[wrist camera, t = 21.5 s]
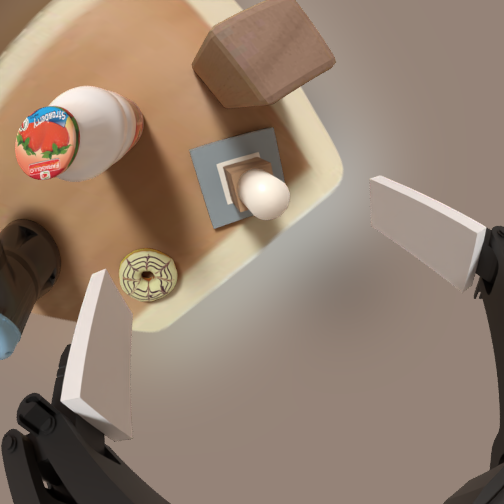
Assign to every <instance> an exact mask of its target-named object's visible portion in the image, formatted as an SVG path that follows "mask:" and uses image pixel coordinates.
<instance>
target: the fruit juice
mask: <svg viewBox="0 0 504 504" xmlns="http://www.w3.org/2000/svg"><path fill="white" fill-rule="evenodd" d="M143 125H144V121H143V115H142V112H141V110H140V108H139V107H138V106H137V105H136V104H135V103H134V102H133V101H132V100H130V99H128V98H126V97H123V96H121V95H119V94H117V93H115V92H112V91H108V90H104V89H102V88H99V87H94V86H81V87H76V88H73V89H70V90H68V91H66V92H64V93H62V94H61V95H59V96H58V97H57V98H56V99H54V100H53V101H52V102H51V104H50V105H49V106H48V107H43V108H40V109H38V110H36V111H34V112H33V113H32V114H30V115H29V116H28V117H27V118H26V119H25V121H24V122H23V123H22V125H21V127H20V129H19V131H18V134H17V137H16V143H15V152H16V158H17V161H18V164H19V166H20V167H21V169H22V170H23V171H24V172H25V173H26V174H27V175H28V176H30V177H32V178H34V179H38V180H47V179H51V178H54V177H57V178H59V179H62V180H65V181H70V182H81V181H86V180H89V179H92V178H94V177H96V176H98V175H100V174H101V173H103V172H104V171H106V170H107V169H108V168H109V167H110V166H111V165H113V164H114V163H116V162H117V161H119V160H120V159H121V158H122V157H123V156H124V155H125V154H126V153H127V152H128V151H129V150H130V149H131V148H132V147H133V146H134V145H135V144H136V143H137V142H138V140H139V139H140V137H141V134H142V131H143Z"/></svg>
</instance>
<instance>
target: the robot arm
mask: <svg viewBox="0 0 504 504" xmlns="http://www.w3.org/2000/svg"><path fill="white" fill-rule="evenodd" d="M369 181H370V201H371V227H373V228H374V229H376V230H377V231H379V232H380V233H382V234H383V235H385V236H386V237H388V238H389V239H391V240H392V241H394V242H395V243H397V244H398V245H399V246H401V247H402V248H404V249H405V250H406V251H408V252H409V253H411V254H412V255H413V256H415V257H416V258H418V259H419V260H420V261H422V262H423V263H425V264H426V265H427V266H429V267H430V268H431V269H432V270H434V271H435V272H436V273H438V274H439V275H440V276H442V277H443V278H444V279H445V280H447V281H448V282H449V283H451V284H452V285H453V286H454V287H456V288H457V289H458V290H459V291H461V292H462V293H463V292H464V291H465V290H467V289H468V288H469V287H470V286H472V283H473V280H474V277H475V273H476V274H478V275H479V276H480V278H479V281H478V284H477V287H476V290H475V293H474V299H476V297H477V294H478V292H481V294H480V296H479V299H483V302H484V306H485V310H486V314H487V318H488V323H489V327H490V331H491V337H492V343H493V348H494V354H495V361H496V368H497V377H498V388H499V402H500V429H499V432H498V434H497V436H496V438H495V440H494V443H493V446H492V453H491V463H490V470H489V471H488V472H486V473H484V474H482V475H480V476H478V477H476V478H473V479H471V480H469V481H468V482H467V483H466V484H465V485H464V486H463V487H461V488H460V489H459V490H458V491H457V492H456V493H454V494H453V495H452V496H451V497H450V498H448V499H447V500H446V501H445V502H444V504H504V227H502V226H495V227H493V228H492V230H490V229H488V228H486V227H485V226H483V225H482V224H480V223H478V222H476V221H475V220H473V219H471V218H469V217H467V216H466V215H464V214H462V213H460V212H458V211H456V210H454V209H452V208H450V207H448V206H447V205H444V204H442V203H440V202H438V201H436V200H434V199H432V198H430V197H428V196H426V195H424V194H422V193H420V192H417V191H415V190H413V189H411V188H409V187H406V186H404V185H402V184H399V183H397V182H395V181H392V180H390V179H387V178H385V177H383V176H377V177H374V178H370V179H369ZM60 267H61V261H60V254H59V251H58V248H57V246H56V243H55V242H54V240H53V238H52V237H51V235H50V234H49V233H48V232H47V231H46V230H45V229H44V228H43V227H42V226H40V225H39V224H37V223H35V222H33V221H30V220H25V219H20V220H15V221H13V222H11V223H10V224H8V225H7V226H6V227H5V228H4V229H3V230H2V231H1V232H0V360H3V359H6V358H8V357H9V356H10V355H11V354H12V353H13V351H14V349H15V347H16V345H17V343H18V342H19V341H20V338H21V335H22V332H23V330H24V327H25V325H26V322H27V320H28V318H29V315H30V313H31V311H32V309H33V306H34V304H35V302H36V300H37V299H39V298H40V297H41V296H43V295H44V294H45V293H47V292H48V291H49V290H50V289H51V288H52V287H53V285H54V284H55V282H56V280H57V278H58V276H59V273H60ZM132 318H133V314H132V312H131V311H130V309H129V307H128V306H127V304H126V303H125V301H124V299H123V298H122V296H121V294H120V293H119V291H118V289H117V287H116V286H115V284H114V282H113V281H112V279H111V277H110V275H109V273H108V272H107V270H106V269H104V270H101V271H99V272H96V273H94V274H92V276H91V279H90V282H89V285H88V288H87V291H86V294H85V297H84V300H83V303H82V307H81V310H80V313H79V317H78V321H77V324H76V328H75V332H74V336H73V340H72V344H69V345H67V347H66V348H65V350H64V352H63V353H62V355H61V359H60V363H59V369H58V371H57V378H56V381H55V386H54V392H53V398H52V403H51V404H50V403H49V402H48V401H46V400H45V399H44V398H43V397H42V396H41V395H40V394H37V393H32V394H29V395H28V396H26V397H25V398H24V399H23V401H22V402H21V403H20V405H19V408H18V410H17V422H18V424H19V425H20V426H22V427H23V428H24V429H26V430H27V431H29V432H30V433H29V434H28V435H23V434H22V433H21V432H19V431H18V430H16V429H11V430H9V431H8V432H7V433H6V434H5V435H4V437H3V440H2V445H1V447H2V456H3V462H4V467H5V472H6V476H7V480H8V484H9V488H10V492H11V495H12V499H13V502H14V504H170V503H169V502H168V501H166V500H165V499H164V498H163V497H161V496H160V495H159V494H158V493H156V492H155V491H154V490H153V489H152V488H151V487H150V486H149V485H147V484H146V483H145V482H144V481H143V480H142V479H141V478H140V477H139V476H138V475H136V474H135V473H134V472H133V471H132V470H131V469H130V468H129V467H128V466H127V465H126V464H125V463H124V462H123V461H122V460H121V459H120V458H119V457H118V456H117V455H116V453H115V452H114V451H113V450H112V449H111V448H110V447H109V446H107V445H106V444H105V443H104V442H105V441H104V435H105V436H107V437H108V438H110V439H112V440H113V441H114V442H115V441H122V440H129V439H133V433H132V417H131V387H130V386H131V383H130V380H131V379H130V378H131V371H130V369H131V336H132ZM42 480H43V481H45V482H47V485H48V489H47V488H45V487H44V484H43V481H42Z"/></svg>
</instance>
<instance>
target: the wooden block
mask: <svg viewBox="0 0 504 504" xmlns="http://www.w3.org/2000/svg"><path fill="white" fill-rule="evenodd" d="M335 63H336V61H335V57H334V56H333V54H332V52H331V50H330V49H329V47H328V46H327V44H326V43H325V41H324V40H323V38H322V37H321V35H320V34H319V32H318V31H317V29H316V28H315V27H314V25H313V24H312V22H311V21H310V19H309V18H308V16H307V15H306V14H305V12H304V11H303V10H302V8H301V7H300V6H299V4H298V3H297V2H296V1H295V0H265V1H263V2H261V3H259V4H256V5H254V6H252V7H250V8H248V9H246V10H243V11H241V12H239V13H237V14H235V15H233V16H231V17H229V18H228V19H226V20H224V21H222V22H220V23H218V24H216V25H215V26H213V28H212V29H211V30H210V31H209V33H208V35H207V37H206V38H205V40H204V42H203V44H202V46H201V48H200V49H199V51H198V53H197V55H196V57H195V59H194V61H193V63H192V68H193V70H194V71H195V72H196V73H197V74H198V76H199V77H200V78H201V79H202V80H203V82H204V83H205V84H206V85H207V87H208V88H209V89H210V90H211V92H212V93H213V94H214V95H215V97H216V98H217V99H218V100H219V102H220V103H221V104H222V106H223V107H225V108H227V109H229V108H239V107H249V106H263V105H270V104H274V103H276V102H277V101H279V100H280V99H282V98H283V97H285V96H286V95H288V94H289V93H291V92H292V91H294V90H296V89H297V88H299V87H300V86H302V85H304V84H305V83H307V82H309V81H310V80H312V79H313V78H315V77H317V76H319V75H320V74H322V73H324V72H325V71H327V70H329V69H331V68H332V67H333V65H334V64H335Z"/></svg>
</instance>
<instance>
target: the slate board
mask: <svg viewBox="0 0 504 504" xmlns="http://www.w3.org/2000/svg"><path fill="white" fill-rule="evenodd" d="M189 151H190V155H191V158H192V161H193V165H194V168H195V171H196V175H197V178H198V181H199V184H200V187H201V191H202V194H203V197H204V200H205V203H206V207H207V210H208V213H209V216H210V219H211V222H212V225H213V228H214V229H215V228H218V227H221V226H223V225H226V224H229V223H232V222H235V221H238V220H241V219H244V218H247V217H250V216H253V214H252V213H251V211H250V210H246V211H243V212H240V211H239V210H238V208H237V207H236V206H235V204H234V203H233V202H232V201H231V197H230V193H229V189H228V185H227V181H226V178H225V174H224V170H223V166H227V165H230V164H234V163H237V162H241V161H244V160H248V159H252V158H255V157H259V158H261V159H263V160H266V161H268V162H270V163H271V166H272V172H273V176H274V177H276V178H278V179H279V180H281V181H282V182H284V183H285V181H284V176H283V171H282V166H281V161H280V156H279V151H278V146H277V141H276V137H275V132H274V128H273V127H269V128H265V129H260V130H256V131H252V132H248V133H245V134H241V135H237V136H233V137H230V138H226V139H223V140H219V141H216V142H213V143H209V144H206V145H203V146H200V147H196V148H193V149H190V150H189Z"/></svg>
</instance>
